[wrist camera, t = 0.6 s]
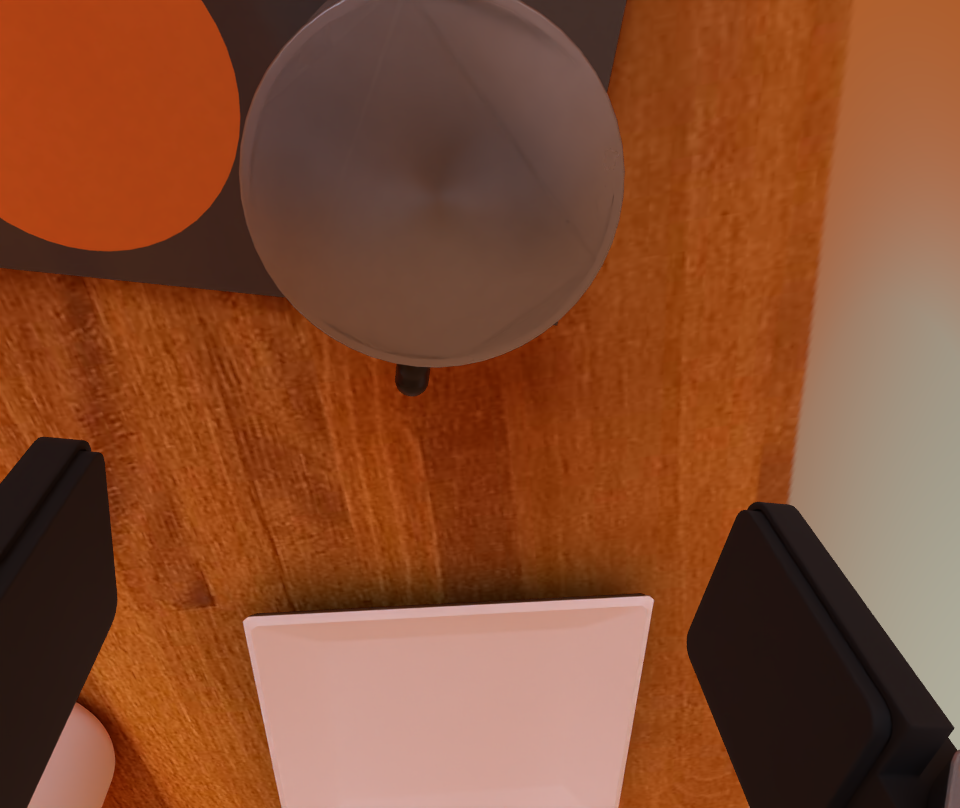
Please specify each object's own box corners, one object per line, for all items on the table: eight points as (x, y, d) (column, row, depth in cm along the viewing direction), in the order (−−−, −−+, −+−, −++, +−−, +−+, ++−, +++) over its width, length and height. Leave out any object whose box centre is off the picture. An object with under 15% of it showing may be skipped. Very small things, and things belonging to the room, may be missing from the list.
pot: (286, -121, 21) (234, -159, 15) (613, -62, 22) (690, -75, 16) (279, 308, 27) (241, 406, 21) (534, 334, 28) (568, 433, 22)
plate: (295, 823, 44) (290, 859, 42) (249, 588, 35) (240, 621, 33) (607, 800, 45) (615, 834, 44) (643, 568, 36) (656, 599, 34)
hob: (-159, -181, 20) (-185, -188, 19) (627, -41, 23) (636, -42, 22) (-65, 250, 26) (-82, 260, 25) (553, 315, 29) (557, 326, 28)
